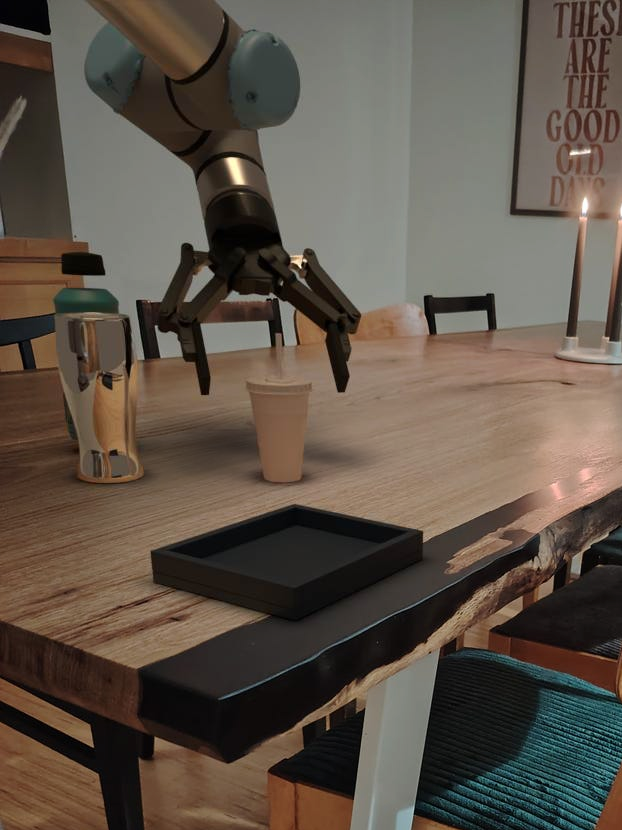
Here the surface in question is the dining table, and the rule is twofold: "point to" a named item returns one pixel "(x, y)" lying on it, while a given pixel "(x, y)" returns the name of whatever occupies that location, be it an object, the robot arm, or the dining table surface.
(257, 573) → the tray
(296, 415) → the smoothie
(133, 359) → the beer glass
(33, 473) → the dining table surface
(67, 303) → the beverage bottle
